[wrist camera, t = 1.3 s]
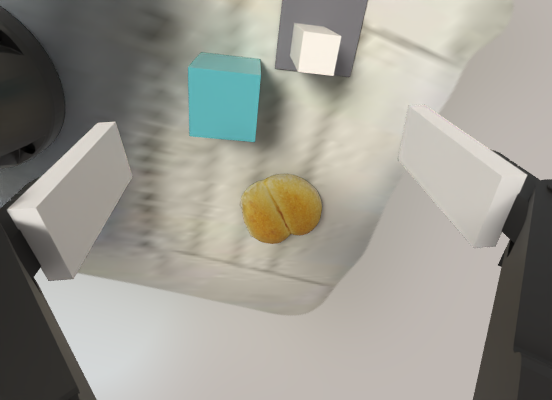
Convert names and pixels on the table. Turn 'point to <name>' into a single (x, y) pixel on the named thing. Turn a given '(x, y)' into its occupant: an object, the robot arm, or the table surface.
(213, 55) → the teal toy brick
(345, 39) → the panel
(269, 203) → the bread roll
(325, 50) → the white rectangular block
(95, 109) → the table surface
